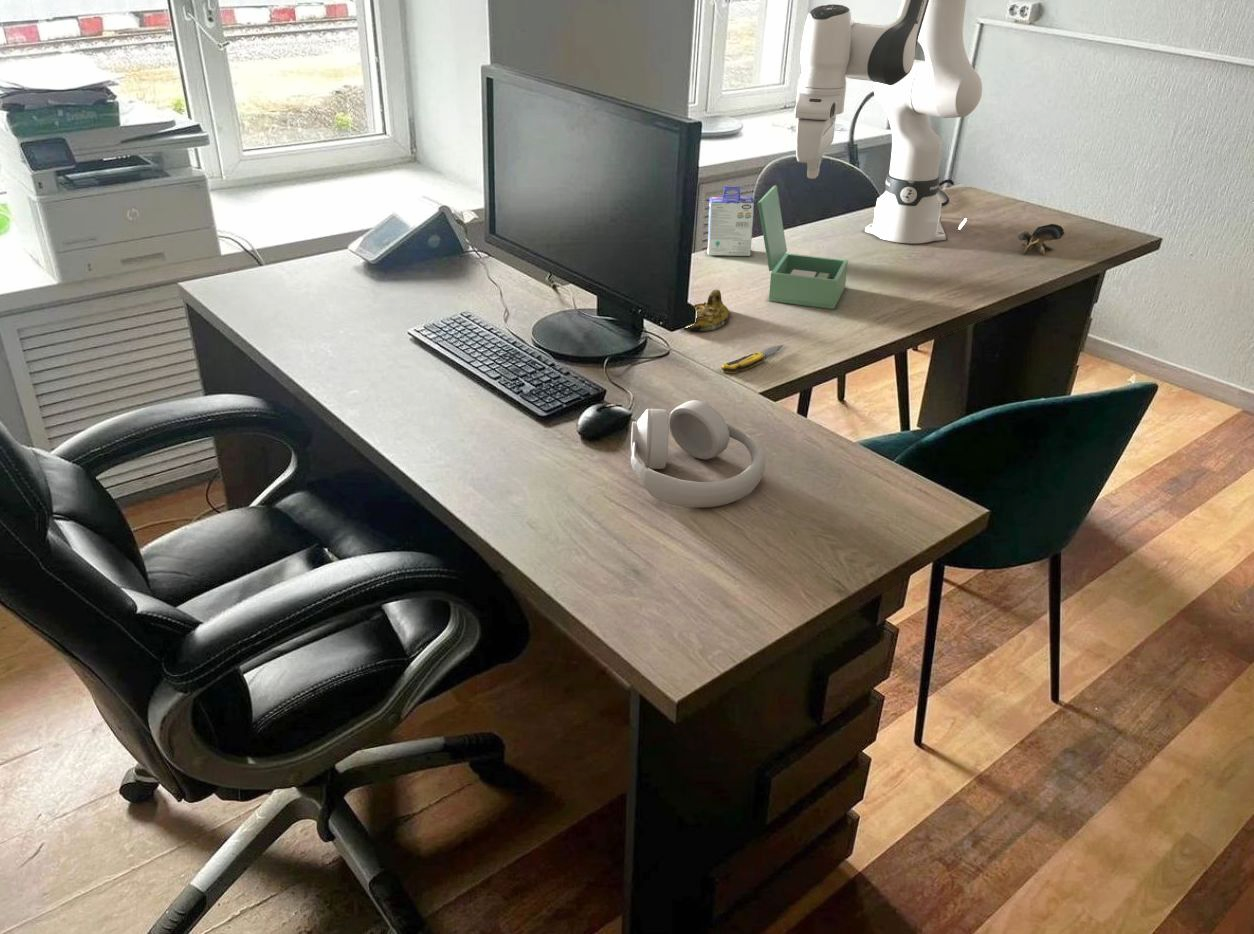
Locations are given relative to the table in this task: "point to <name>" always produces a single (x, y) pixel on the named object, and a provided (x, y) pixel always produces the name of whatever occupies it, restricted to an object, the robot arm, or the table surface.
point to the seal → (710, 313)
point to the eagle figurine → (1041, 237)
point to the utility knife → (749, 360)
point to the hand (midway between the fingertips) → (812, 176)
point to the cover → (772, 227)
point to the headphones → (699, 437)
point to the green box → (808, 281)
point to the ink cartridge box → (730, 224)
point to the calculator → (810, 274)
